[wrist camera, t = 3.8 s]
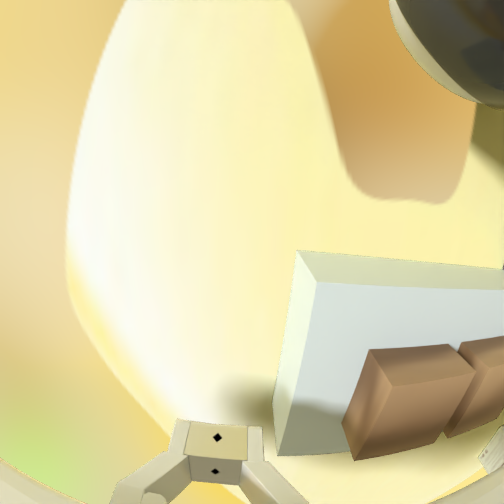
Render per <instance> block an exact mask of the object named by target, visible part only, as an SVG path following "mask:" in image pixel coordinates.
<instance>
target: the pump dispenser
mask: <svg viewBox="0 0 504 504" xmlns="http://www.w3.org/2000/svg"><path fill="white" fill-rule="evenodd" d="M389 6H390V12H391V16H392V20H393V23H394V26H395V28H396V30H397V33H398V35H399V37H400V39H401V41H402V42H403V44H404V46H405V47H406V49H407V50H408V51H409V53H410V54H411V56H412V57H413V58H414V59H415V61H416V62H417V63H418V64H419V65H420V66H421V67H422V69H423V70H424V71H426V72H427V74H429V75H430V76H431V77H432V78H433V79H434V80H435V81H437V82H438V83H439V84H441V85H442V86H443V87H445V88H446V89H448V90H450V91H451V92H453V93H455V94H457V95H458V96H460V97H463V98H465V99H468V100H471V101H473V102H477V103H481V104H485V105H486V106H489V107H491V108H494V109H497V110H502V111H504V0H389Z"/></svg>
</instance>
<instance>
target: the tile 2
mask: <svg viewBox="0 0 504 504" xmlns="http://www.w3.org/2000/svg"><path fill="white" fill-rule="evenodd" d="M457 353H458V354H459V355H460V356H461V357H462V358H463V359H464V360H465V361H466V362H467V363H468V364H469V365H470V366H471V367H472V368H473V369H474V370H475V371H476V373H475V375H474V377H473V379H472V381H471V383H470V385H469V387H468V389H467V391H466V392H465V394H464V396H463V398H462V400H461V401H460V403H459V405H458V406H457V408H456V410H455V411H454V413H453V415H452V416H451V418H450V419H449V421H448V423H447V424H446V426H445V427H444V429H443V432H444V434H445V435H446V437H447V438H450V437H453V436H456V435H459V434H461V433H464V432H467V431H469V430H472V429H474V428H476V427H479V426H481V425H484V424H486V423H488V422H490V421H493V420H495V419H497V417H498V416H499V414H500V413H501V411H502V410H503V408H504V336H498V337H492V338H486V339H479V340H472V341H465V342H461V344H460V346H459V349H458V351H457Z"/></svg>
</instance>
